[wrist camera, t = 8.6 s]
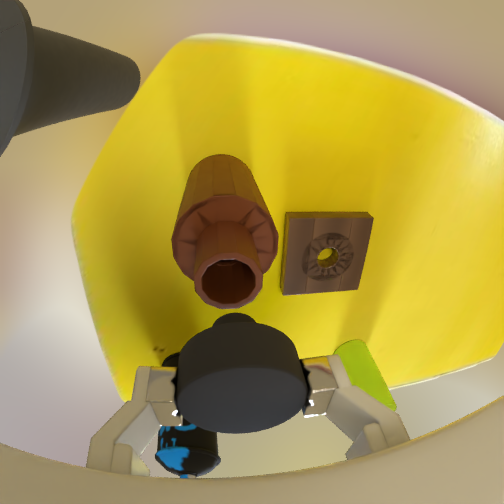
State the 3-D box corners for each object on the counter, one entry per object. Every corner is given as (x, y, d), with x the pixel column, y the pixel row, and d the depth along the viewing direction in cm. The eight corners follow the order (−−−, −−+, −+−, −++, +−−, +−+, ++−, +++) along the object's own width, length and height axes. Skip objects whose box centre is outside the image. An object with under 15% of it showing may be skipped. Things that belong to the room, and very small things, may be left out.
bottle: (189, 218, 32) (173, 331, 17) (186, 155, 29) (155, 226, 14) (252, 215, 33) (286, 325, 18) (254, 153, 29) (297, 221, 15)
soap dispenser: (329, 370, 48) (366, 471, 31) (336, 343, 45) (381, 453, 27) (360, 363, 49) (402, 458, 31) (369, 336, 45) (421, 438, 28)
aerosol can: (225, 371, 45) (237, 490, 27) (187, 389, 46) (188, 499, 29) (190, 343, 41) (189, 477, 24) (151, 365, 43) (139, 485, 25)
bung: (188, 364, 14) (186, 436, 10) (175, 288, 12) (164, 368, 8) (282, 359, 14) (298, 427, 11) (291, 283, 12) (319, 358, 9)
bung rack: (279, 287, 38) (282, 295, 36) (285, 211, 33) (289, 218, 31) (352, 281, 39) (357, 289, 37) (367, 211, 34) (373, 217, 32)
